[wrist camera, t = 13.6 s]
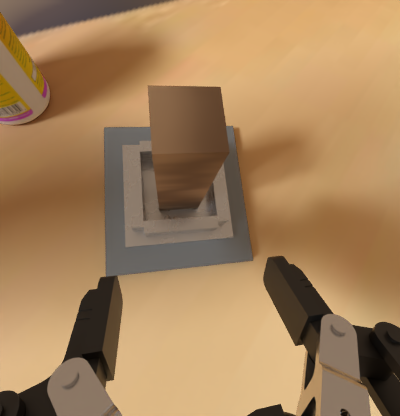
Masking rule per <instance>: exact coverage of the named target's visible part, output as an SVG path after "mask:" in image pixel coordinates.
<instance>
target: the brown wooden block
mask: <svg viewBox="0 0 400 416" xmlns="http://www.w3.org/2000/svg"><path fill="white" fill-rule="evenodd" d="M148 96H149V113H150V130H151V147H152V159H153V166H154V174H155V181H156V189H157V196H158V204H159V211H163V210H178V209H193V208H198V207H199V205H200V204H201V202H202V200H203V198H204V197H205V195H206V193H207V191H208V189H209V188H210V186H211V184H212V182H213V181H214V179H215V177H216V175H217V174H218V172H219V170H220V168H221V166H222V165H223V163H224V161H225V159H226V158H227V156H228V154H229V152H230V151H229V144H228V137H227V130H226V123H225V116H224V109H223V102H222V94H221V87H197V86H148Z"/></svg>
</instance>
